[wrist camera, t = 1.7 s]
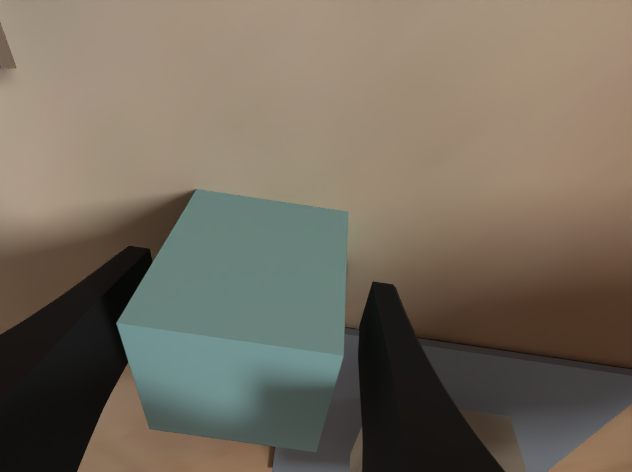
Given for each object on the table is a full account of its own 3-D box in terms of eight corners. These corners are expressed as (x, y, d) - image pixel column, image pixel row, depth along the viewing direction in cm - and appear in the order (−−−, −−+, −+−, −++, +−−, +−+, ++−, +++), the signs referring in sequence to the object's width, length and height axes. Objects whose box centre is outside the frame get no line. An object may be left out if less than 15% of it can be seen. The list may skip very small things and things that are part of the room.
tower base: (509, 416, 17) (528, 479, 15) (461, 470, 21) (472, 526, 19) (374, 396, 17) (376, 457, 15) (350, 454, 21) (349, 509, 19)
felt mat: (655, 372, 15) (660, 379, 15) (502, 499, 24) (503, 505, 24) (291, 319, 15) (290, 326, 15) (272, 467, 24) (271, 473, 23)
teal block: (348, 210, 12) (343, 355, 8) (327, 309, 14) (316, 452, 11) (197, 188, 12) (116, 323, 8) (205, 292, 14) (149, 429, 11)
